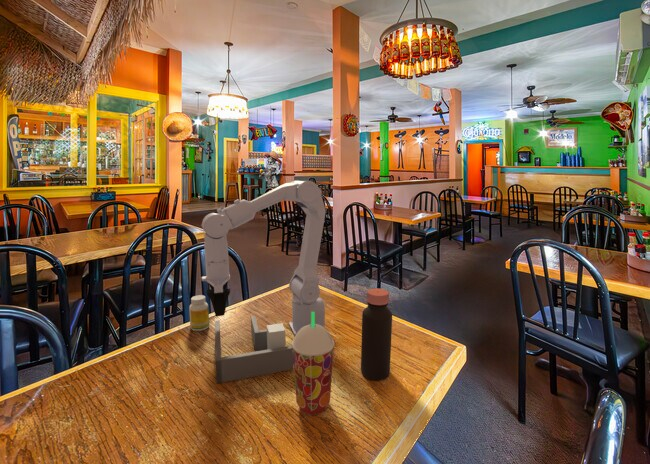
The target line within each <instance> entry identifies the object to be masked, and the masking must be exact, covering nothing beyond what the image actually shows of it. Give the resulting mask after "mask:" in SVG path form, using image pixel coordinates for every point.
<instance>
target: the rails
mask: <svg viewBox="0 0 650 464" xmlns="http://www.w3.org/2000/svg"><path fill="white" fill-rule="evenodd" d="M220 324H221V323H220V320H215V321H214V360H215V362H214V363H215V376H216V377H215V378H216V381H215V382H216V384H222V383H226V382H232V381H238V380H244V379H248V378H254V377H258V376H259V377H260V376H264V375H269V374H270V375H271V374H275V373H280V372H285V371H291V370H294V364H293V352H292V345H287V346H286V347H280V348H274V349H268V350H267V328H265V329H259V326H258V322H257V318H256V316H255V315H251V316H250V332H251V333H250V334H251V338H252V342H253V346H254V350H255V351H251V352H244V353H239V354H233V355H226V356H222V347H221V346H222V345H221V343H222V341H221V325H220Z"/></svg>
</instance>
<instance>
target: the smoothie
mask: <svg viewBox="0 0 650 464" xmlns="http://www.w3.org/2000/svg"><path fill="white" fill-rule="evenodd" d="M291 346H292V352H293V375H294V377H293V378H294V389H295V400H296V404H297V405H298V407H299V409H300V411H302V413H305V414H306V415H313V416H314V415H319V414H322V413H323V412H325V410H326V409H327V407H328V405H329V404H330V402H331V401H330V400H331V392H332V390H331V389H332V379H333V368H334V367H333V364H334V355H335V354H334V350H335V340H334V339H333V338H332V336H331V333H330V332H329V331H328V329H327V328H326V327H325V328H324V327H323V326H321V325H318V324H315V312H311V324H308V325H305V326H304V327H302V328H301V329H300V330H299V331H298V332H297V334H296V335H294V338H293V339H292V341H291Z"/></svg>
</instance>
